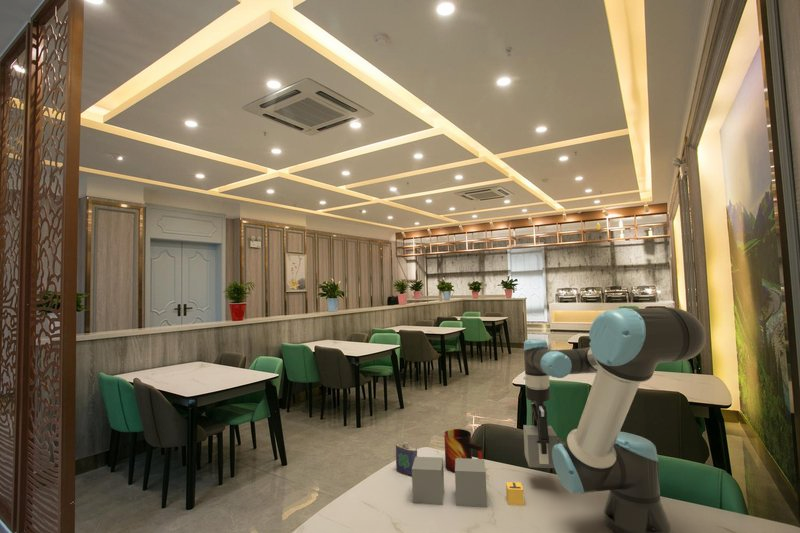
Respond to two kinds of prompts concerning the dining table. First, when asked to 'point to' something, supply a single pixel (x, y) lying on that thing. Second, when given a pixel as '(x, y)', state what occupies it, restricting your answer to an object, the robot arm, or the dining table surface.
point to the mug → (458, 447)
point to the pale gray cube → (470, 482)
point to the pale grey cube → (533, 448)
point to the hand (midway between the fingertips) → (541, 456)
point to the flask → (405, 458)
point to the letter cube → (515, 493)
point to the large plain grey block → (428, 480)
